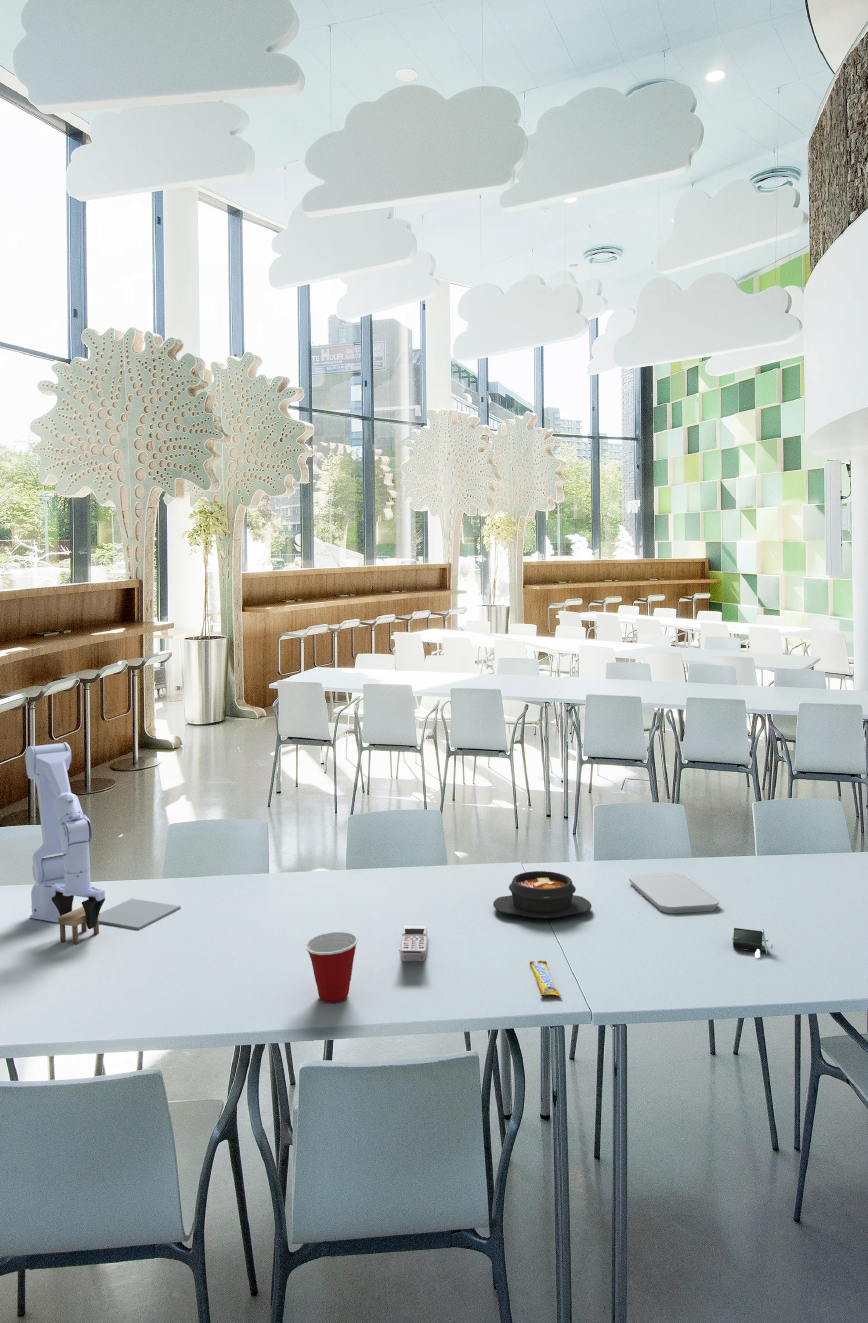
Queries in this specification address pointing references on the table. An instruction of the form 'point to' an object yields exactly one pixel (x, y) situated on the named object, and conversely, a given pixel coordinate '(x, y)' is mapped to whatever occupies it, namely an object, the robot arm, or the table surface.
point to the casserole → (542, 896)
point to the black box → (749, 940)
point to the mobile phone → (414, 943)
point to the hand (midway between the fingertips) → (79, 925)
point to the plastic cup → (332, 963)
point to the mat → (136, 913)
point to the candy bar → (544, 978)
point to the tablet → (673, 893)
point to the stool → (74, 924)
